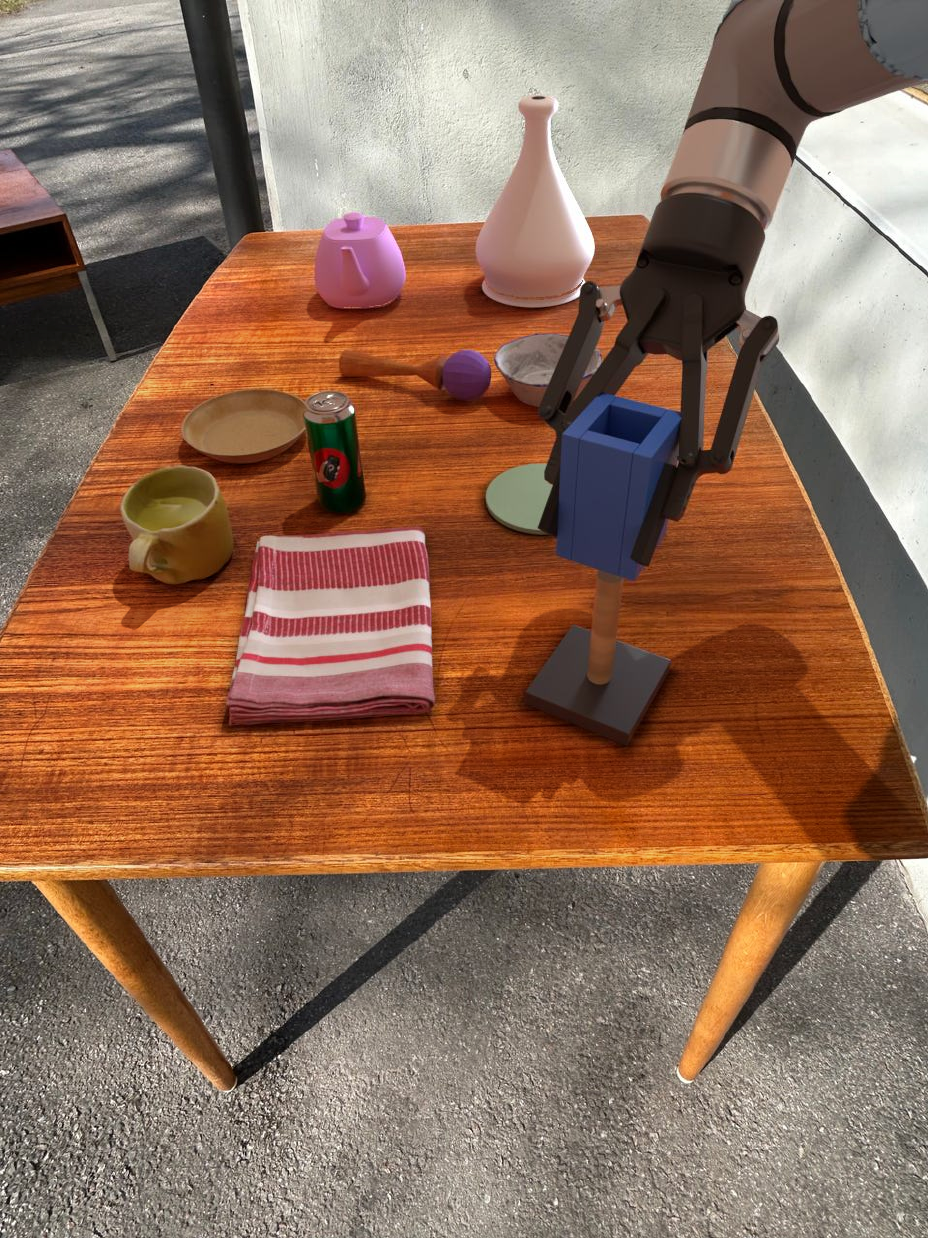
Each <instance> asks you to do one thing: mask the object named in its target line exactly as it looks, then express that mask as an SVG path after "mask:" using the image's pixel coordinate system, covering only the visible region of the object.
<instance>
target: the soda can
mask: <svg viewBox="0 0 928 1238" xmlns="http://www.w3.org/2000/svg"><path fill="white" fill-rule="evenodd" d="M304 402H305V409H304V411H303V419H304V424H305V430H304V431H305V435H306V441H307V446H308V452H309V457H310V464H311V467H312V475H313V479H314V487H315V490H316V491H315V492H316V496H317V502H318V505H319V506H320V507H321V508H322V509H324V510H325V511H326V512H329V513H331V514H337V515H340V514H341V515H343V514H350V513H352V512H355V511H356V510H358V509H359V508H360V507H361V506H362V505H363V504H364V502H365V500H366V498H367V491H366V485H365V478H364V472H363V471H364V470H363V462H362V454H361V447H360V442H359V441H360V439H359V432H358V425H357V417H356V410H355V405H354V404H353V403H352V402H351V400H350V397H349V395H347V393H345V392H342V391H338V390H322V391H318V392H316V393H313V394H310V395H309V396H308V397H307V398H306V400H305V401H304Z"/></svg>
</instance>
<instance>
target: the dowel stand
mask: <svg viewBox="0 0 928 1238" xmlns="http://www.w3.org/2000/svg"><path fill="white" fill-rule="evenodd" d="M595 578H596V579H595V588H594V589H595V590H594V596H593V597H594V598H593V609H592V620H591V629H590V630H589V629H587V628H585V627H584V628H583V627H581V626H579V625H576V624H572V625H571V626H570V628H569V630H568V631H567V632H566V633H565V635H564V636H563V638H562V639H561V641H560V642H559V643H558V644H557V647H556V648H555V649H554V651H553V652H552V653H551V655H550V656H549V658H548V659H547V661H546V662H545V664H543V666H542V667H541V669H540V670H539V672H538V673H537V675H536V676H535V678H534V679H533V680H532V682H531V683H530V685H529V686H528V687H527V689H526V690H525V693H524V704H525V705H526V706H528V707H531V708H534V709H536V710H539V711H541V712H543V713H545V714H548V715H550V716H553V717H555V718H558V719H560V720H563V721H565V722H567V723H570V724H571V725H575V726H577V727H579V728H582V729H584V730H586V731H589V732H592V733H594V734H597V735H599V736H601V737H604V738H607V739H609V740H611V741H612V742H616V743H619V744H620V745H623V746H625V747H628V746H629V745H630V742H631V740H632V739H633V738H634V735H635V733H636V732H637V730H638V728H639V726H640V725H641V723H642V721H643V719H644V717H645V715H646V714H647V712H648V710H649V709H650V707H651V705H652V703H653V702H654V700H655V698H656V696H657V695H658V693H659V691H660V689H661V687H662V685H663V684H664V682H665V680H666V678H667V676H668V675H669V673H670V670H671V669H670V668H671V663H672V660H671V659H669V658H666V657H663V656H660V655H658V654H655V653H653V652H650V651H647V650H644V649H641V648H639V647H637V646H633V645H631V644H628V643H625V642H623V641H619V640H617V637H618V629H619V621H620V613H621V607H622V606H621V605H622V597H623V591H624V589H623V588H624V581H625V578H622V577H619V576H616V575H613V574H610V573H607V572H604V571H601V570H598V569H597V571H596V577H595Z"/></svg>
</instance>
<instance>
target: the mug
mask: <svg viewBox="0 0 928 1238" xmlns="http://www.w3.org/2000/svg"><path fill="white" fill-rule="evenodd" d="M215 478H216V477H214V476H213V475H212V474H211V473H210V472H209V471H206V470H204V469H202V468H199V467H197V466H186V465H185V464H183V465H182V464H181V465H175V466H165V467H162V468H158V469H156V470H153V471H152V472H149V473H147V474H145V475H143V476H142V477H140V478H139V479H138V480H136V481H135V482H134V483H133V484H132V485H130V486H129V488H128V489H127V491H126V492H125V493H124V495H123V497H122V499H121V503H120V507H119V508H120V514H121V519H122V521H123V524H124V526H125V528H126V530H127V533H128V534H129V535H130V537H131V539H132V542H131V543H130V545H129V547H128V566H129V570H130V571H133V572H137V573H144V574H148V575H150V576H152V578H154V579H156V580H157V581H160V582H162V583H164V584H168V585H181V584H185V583H187V582H190V581H196V580H197V581H198V580H204V579H206V578H208V577H211V576H213V575H215V574H216V573H218V572H220V571H221V569H222V568H223V567H224V565H225V564H227V563H228V562H229V561H230V559H231V556H232V554H233V552H234V548H235V547H234V546H235V544H234V543H235V542H234V536H233V529H232V525H231V521H230V515H229V510H228V507H227V504H226V501H225V498H224V497H223V494H222V490H221V489H220V486H219V485H218V483H217V480H216V479H215Z"/></svg>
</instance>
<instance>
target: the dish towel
mask: <svg viewBox="0 0 928 1238" xmlns="http://www.w3.org/2000/svg"><path fill="white" fill-rule="evenodd" d="M247 586H248V587H247V591H246V606H245V611H244V616H243V622H242V626H241V629H240V633H239V638H238V645H237V652H236V658H235V664H234V668H233V672H232V676H231V681H230V687H229V691H228V693H227V697H226V699H225V703H224V704H225V707H228V710H229V712H228V714H229V719H228V724H229V726H237V725H238V726H239V725H251V726H252V725H258V724H259V725H260V724H267V723H269V724H270V723H292V722H293V723H294V722H295V723H296V722H298V723H299V722H300V723H301V722H322V721H338V720H350V719H363V718H364V719H365V718H370V717H371V718H372V717H375V718H376V717H387V716H401V715H402V716H403V715H418V714H425V713H428V712H430V711H431V710H432V709H433V708H434V707H435V705H436V702H435V701H436V696H435V691H434V674H433V673H434V672H433V671H434V670H433V668H434V667H433V641H432V631H433V630H432V620H433V619H432V607H431V606H432V605H431V593H430V563H429V553H428V549H427V546H426V533H425V530H424V529H423V528H422V527H420V526H406V527H392V528H391V527H390V528H385V529H383V528H382V529H372V530H352V531H337V532H328V533H316V534H292V535H291V534H281V535H261V537H260V538H259V540H258V541H256V546H255V551H254V554H253V559H252V563H251V569H250V574H249V579H248V585H247Z"/></svg>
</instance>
